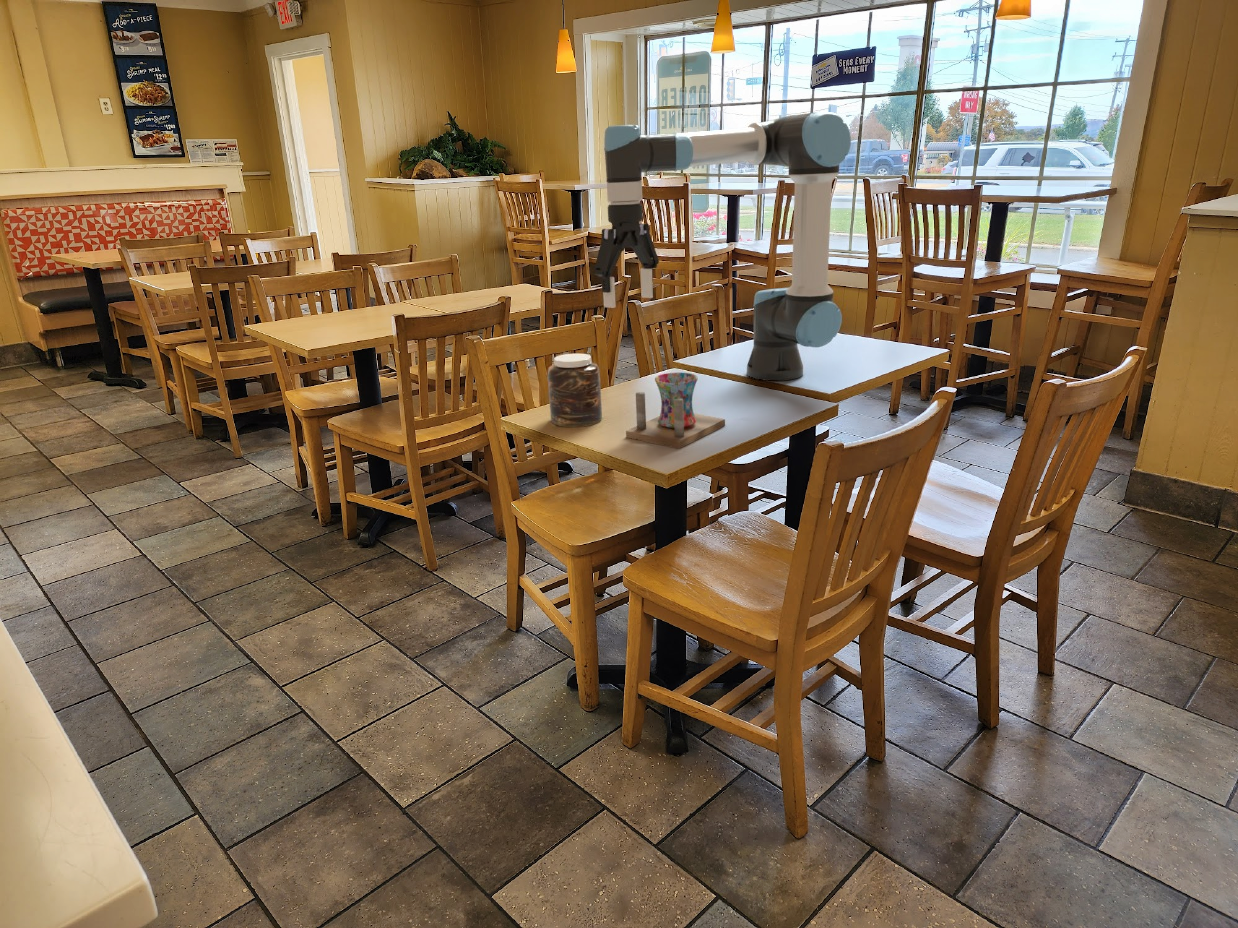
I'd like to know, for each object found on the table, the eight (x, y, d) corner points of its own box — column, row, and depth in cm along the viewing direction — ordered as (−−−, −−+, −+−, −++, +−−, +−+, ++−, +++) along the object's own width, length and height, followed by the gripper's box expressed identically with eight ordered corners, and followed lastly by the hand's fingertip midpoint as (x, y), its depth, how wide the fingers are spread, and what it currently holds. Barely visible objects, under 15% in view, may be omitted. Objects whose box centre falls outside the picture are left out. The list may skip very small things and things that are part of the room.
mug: (687, 433, 173) (686, 385, 169) (648, 428, 177) (647, 381, 173) (709, 417, 182) (709, 371, 178) (672, 412, 187) (671, 368, 183)
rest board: (673, 415, 189) (672, 376, 186) (725, 425, 181) (725, 384, 178) (626, 437, 176) (624, 395, 173) (679, 448, 168) (678, 404, 165)
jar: (583, 409, 198) (579, 349, 192) (611, 420, 189) (608, 357, 184) (542, 420, 191) (537, 357, 186) (569, 431, 182) (564, 366, 177)
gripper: (645, 199, 185) (648, 293, 192) (573, 207, 167) (579, 310, 174) (672, 199, 180) (674, 295, 188) (601, 207, 162) (606, 313, 170)
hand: (629, 302), depth 181 cm, fingers open, 13 cm apart
